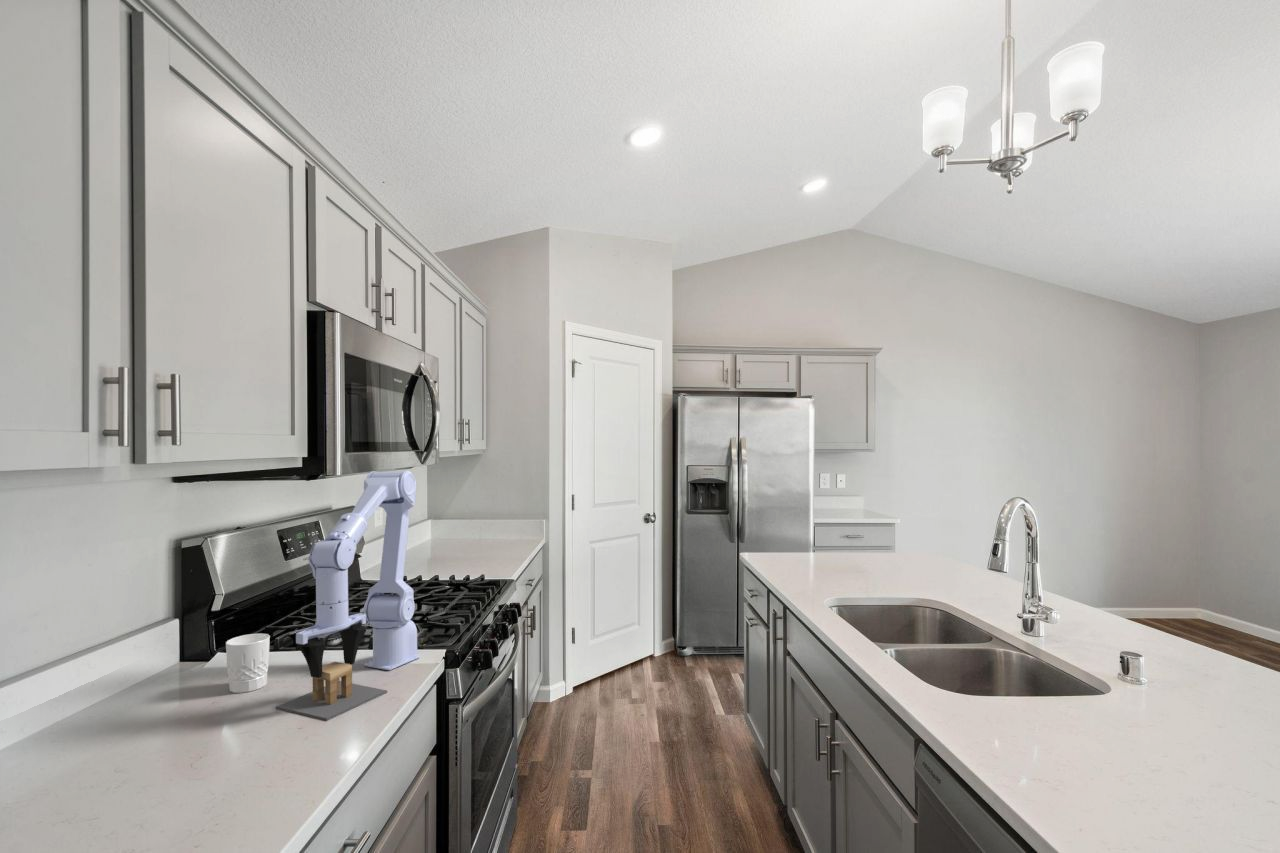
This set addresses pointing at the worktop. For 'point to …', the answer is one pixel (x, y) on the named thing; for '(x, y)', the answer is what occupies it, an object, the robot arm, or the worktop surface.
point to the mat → (327, 711)
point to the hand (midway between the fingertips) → (333, 669)
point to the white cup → (247, 662)
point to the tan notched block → (333, 682)
